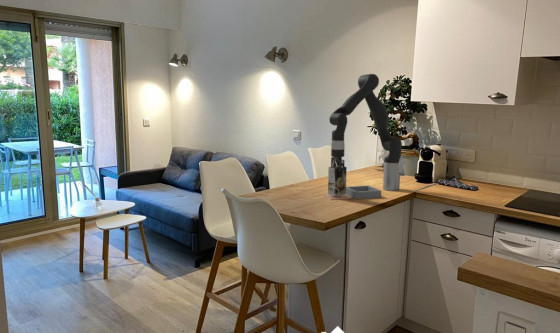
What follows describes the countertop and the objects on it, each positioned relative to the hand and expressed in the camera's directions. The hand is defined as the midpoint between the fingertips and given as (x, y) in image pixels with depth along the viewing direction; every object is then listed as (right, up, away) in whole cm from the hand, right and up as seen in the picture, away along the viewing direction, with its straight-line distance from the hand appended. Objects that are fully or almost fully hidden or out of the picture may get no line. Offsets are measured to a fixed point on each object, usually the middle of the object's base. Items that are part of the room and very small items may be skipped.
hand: (337, 176), depth 239 cm
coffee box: (0, -11, +2) cm, 11 cm away
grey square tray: (+15, -11, +6) cm, 20 cm away
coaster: (0, -12, +2) cm, 12 cm away
